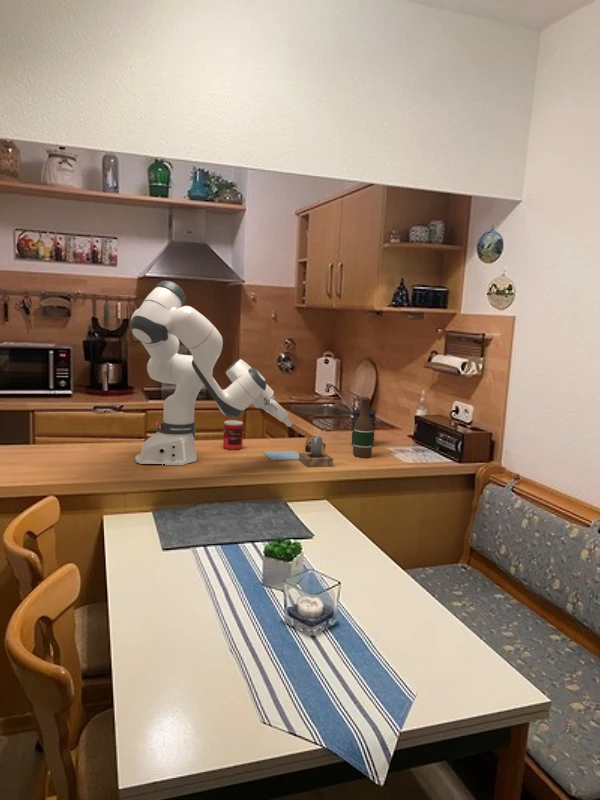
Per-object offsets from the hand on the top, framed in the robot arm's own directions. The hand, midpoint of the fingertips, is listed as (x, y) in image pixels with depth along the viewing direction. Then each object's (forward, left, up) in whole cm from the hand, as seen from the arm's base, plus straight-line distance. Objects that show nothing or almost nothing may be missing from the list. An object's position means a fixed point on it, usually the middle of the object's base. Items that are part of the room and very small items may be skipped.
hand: (286, 422), depth 225 cm
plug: (+12, 0, -16) cm, 20 cm away
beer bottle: (+35, +9, -16) cm, 40 cm away
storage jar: (+44, +29, -16) cm, 55 cm away
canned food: (-14, +28, -16) cm, 35 cm away
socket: (+12, 0, -16) cm, 20 cm away
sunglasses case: (+21, +26, -16) cm, 37 cm away
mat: (+3, +13, -16) cm, 20 cm away
